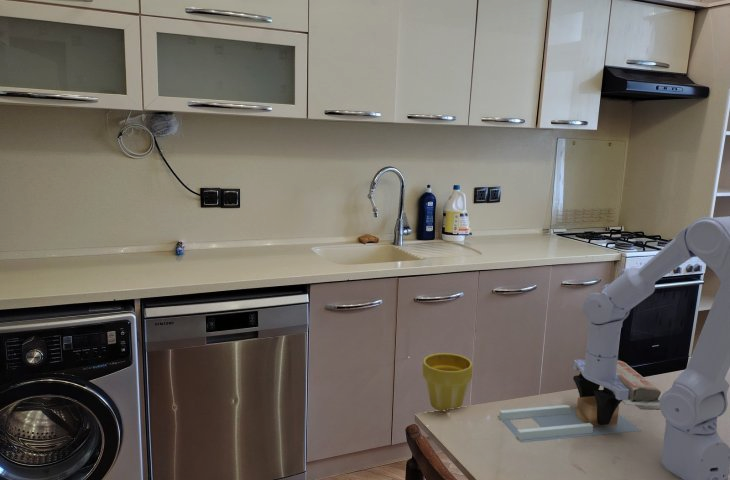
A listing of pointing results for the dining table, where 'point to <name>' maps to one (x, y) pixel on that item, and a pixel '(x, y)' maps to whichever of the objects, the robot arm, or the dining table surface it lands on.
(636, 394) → the packaged product
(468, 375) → the plant pot
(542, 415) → the channel
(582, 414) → the block
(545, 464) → the dining table surface
